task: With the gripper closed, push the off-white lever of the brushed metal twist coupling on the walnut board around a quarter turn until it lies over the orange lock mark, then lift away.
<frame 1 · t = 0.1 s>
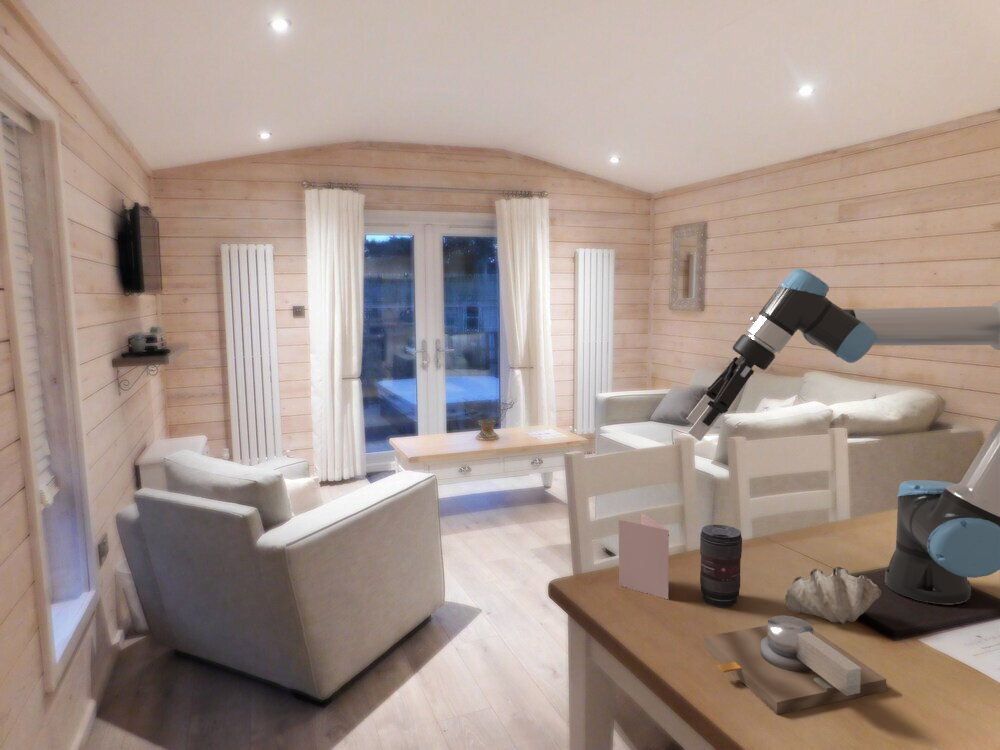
hand: (692, 429, 133), 36 cm above the table, tool tilted 35°, fingers open, 13 cm apart
greeting card: (642, 591, 142), on the table
mount: (789, 667, 112), on the table
seashell: (831, 618, 128), on the table
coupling: (811, 651, 106), point 6 cm above the table, hinge at 0.0°
camera lens: (720, 600, 137), on the table
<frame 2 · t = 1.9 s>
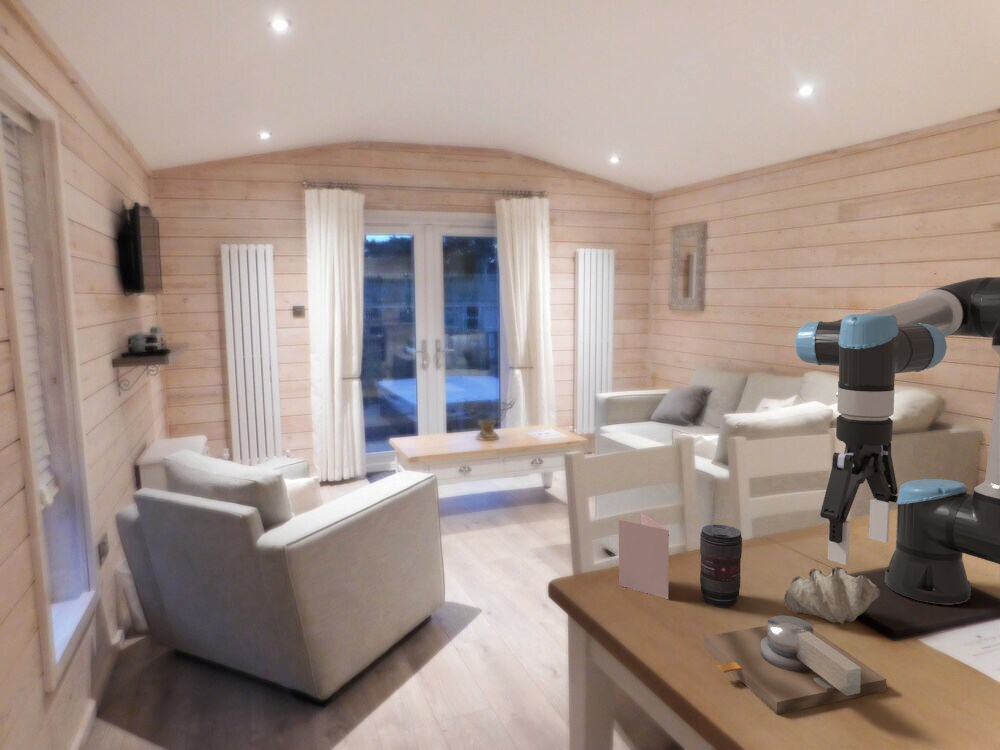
hand: (858, 550, 104), 23 cm above the table, tool pointing down, fingers open, 12 cm apart
nothing on the table moved.
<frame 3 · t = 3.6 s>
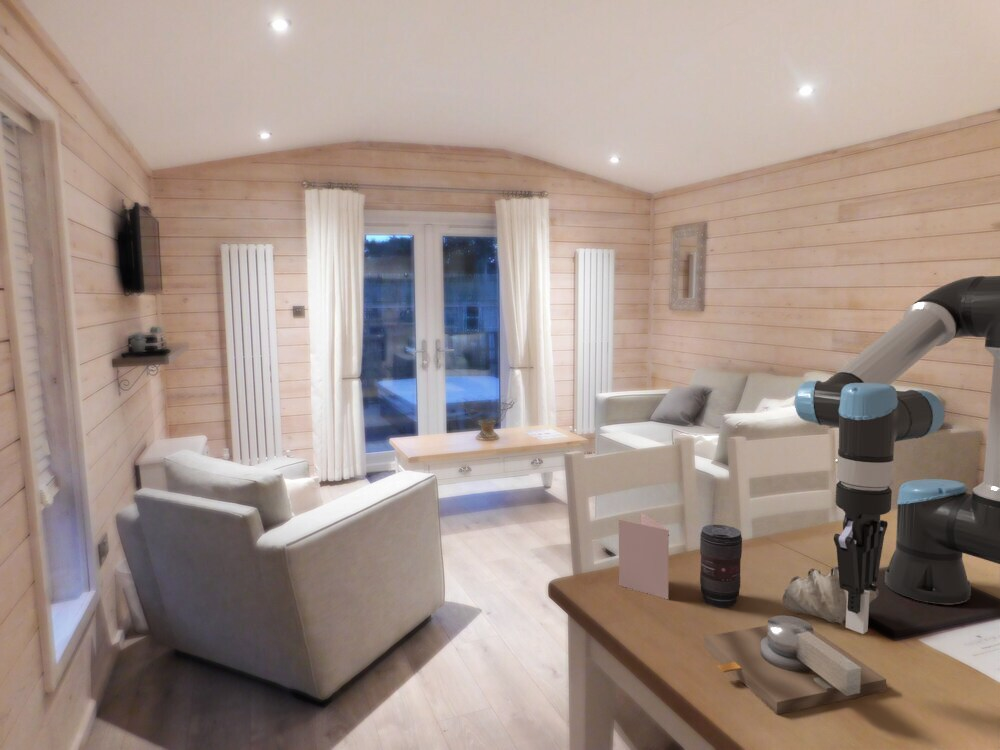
hand: (856, 628, 105), 10 cm above the table, tool pointing down, fingers closed
nothing on the table moved.
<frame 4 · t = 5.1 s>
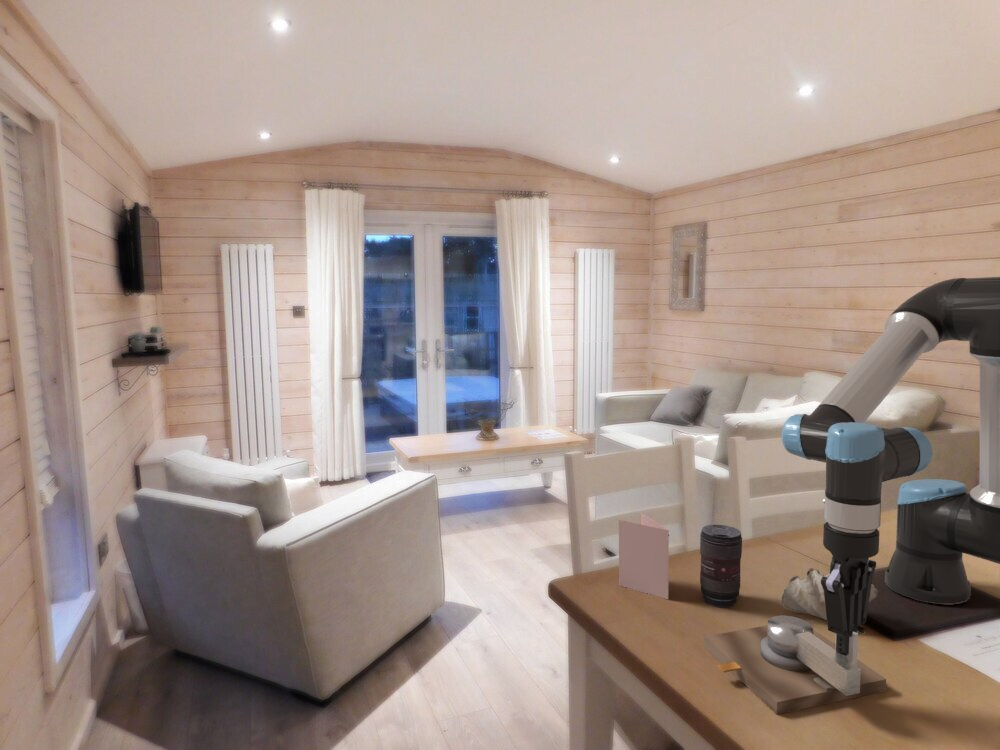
hand: (845, 670, 103), 4 cm above the table, tool pointing down, fingers closed
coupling: (811, 651, 106), point 6 cm above the table, hinge at 0.2°, touching gripper
everything else where it was.
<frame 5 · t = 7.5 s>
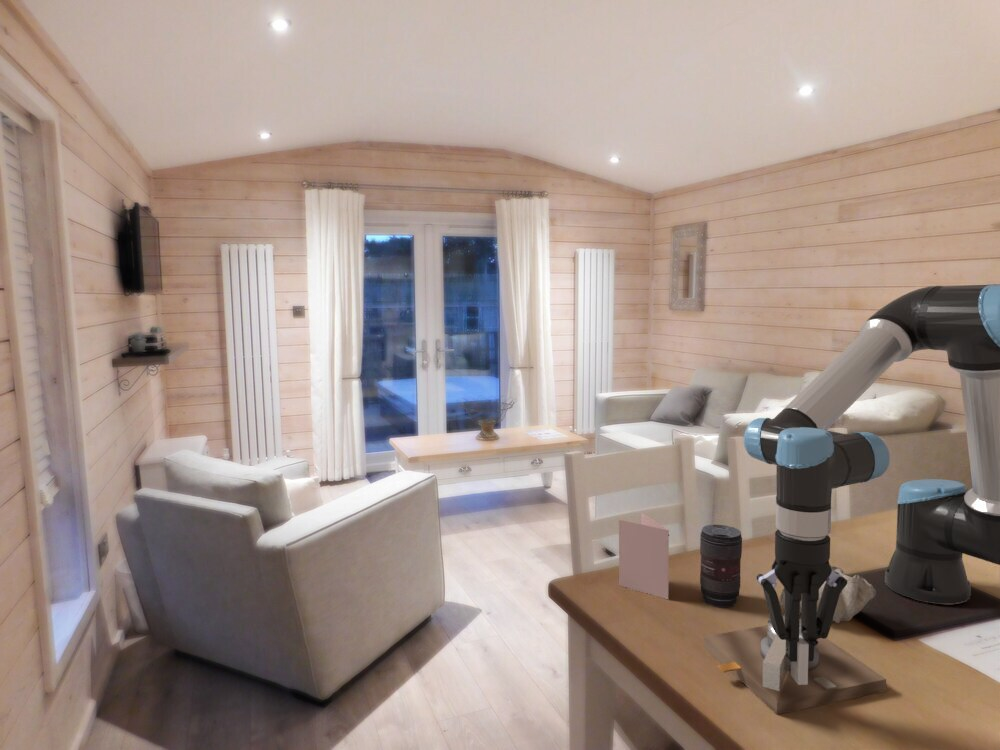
hand: (799, 679, 102), 4 cm above the table, tool pointing down, fingers closed
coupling: (783, 649, 107), point 6 cm above the table, hinge at 48.8°, touching gripper
everything else where it was.
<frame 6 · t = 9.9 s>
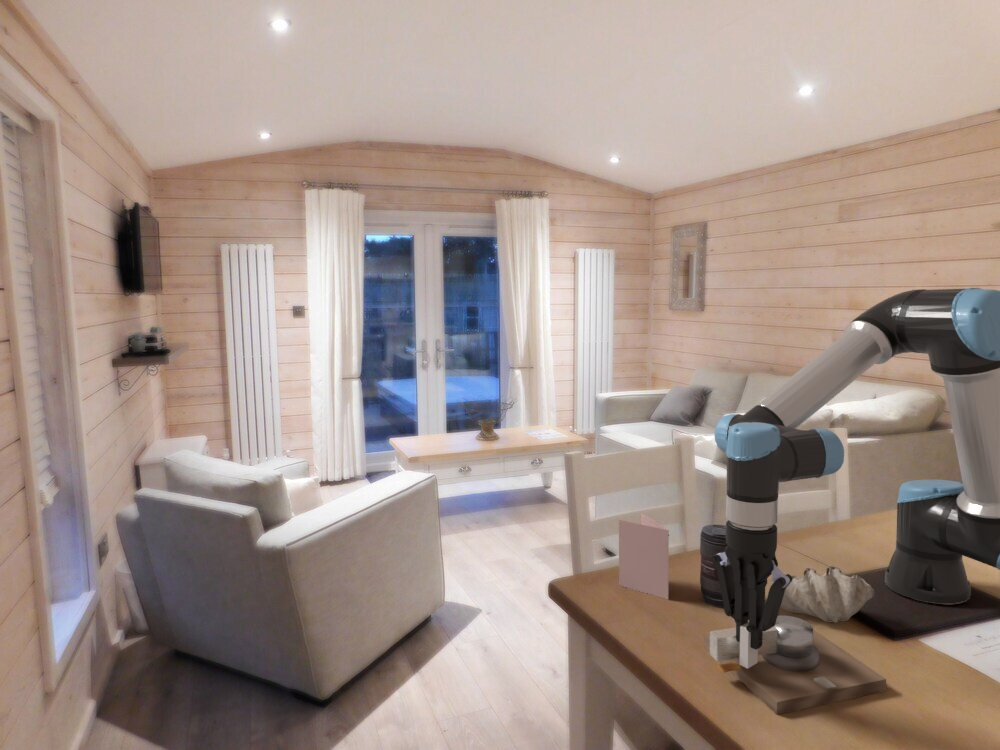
hand: (748, 663, 106), 4 cm above the table, tool pointing down, fingers closed
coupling: (761, 639, 110), point 6 cm above the table, hinge at 93.1°
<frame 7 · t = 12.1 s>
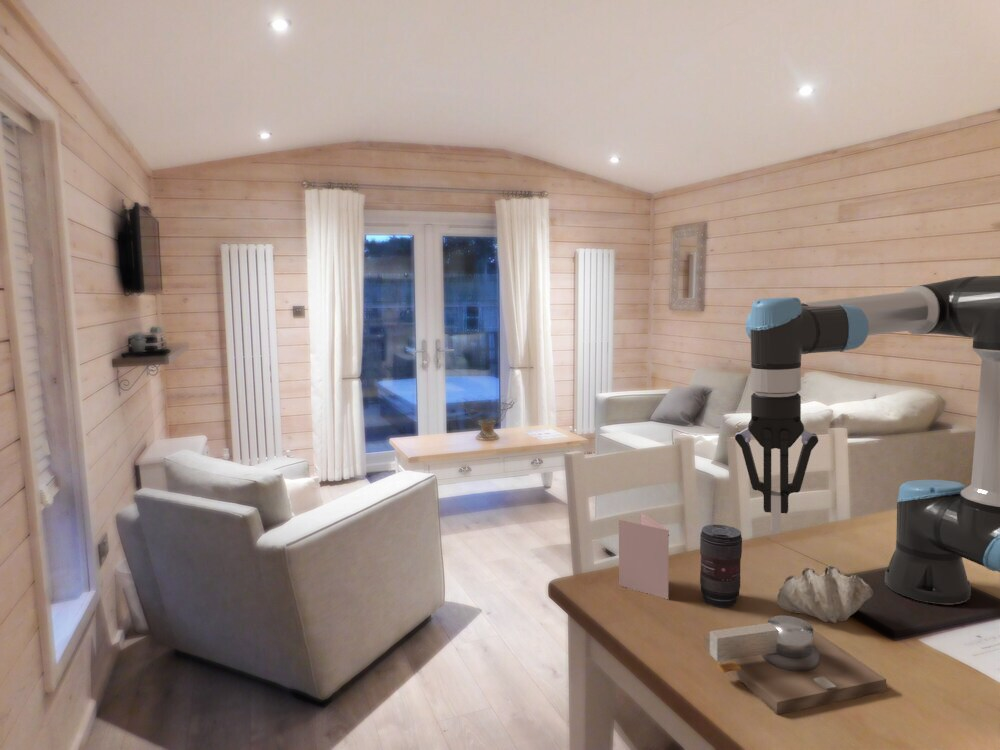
hand: (775, 530, 112), 23 cm above the table, tool pointing down, fingers closed
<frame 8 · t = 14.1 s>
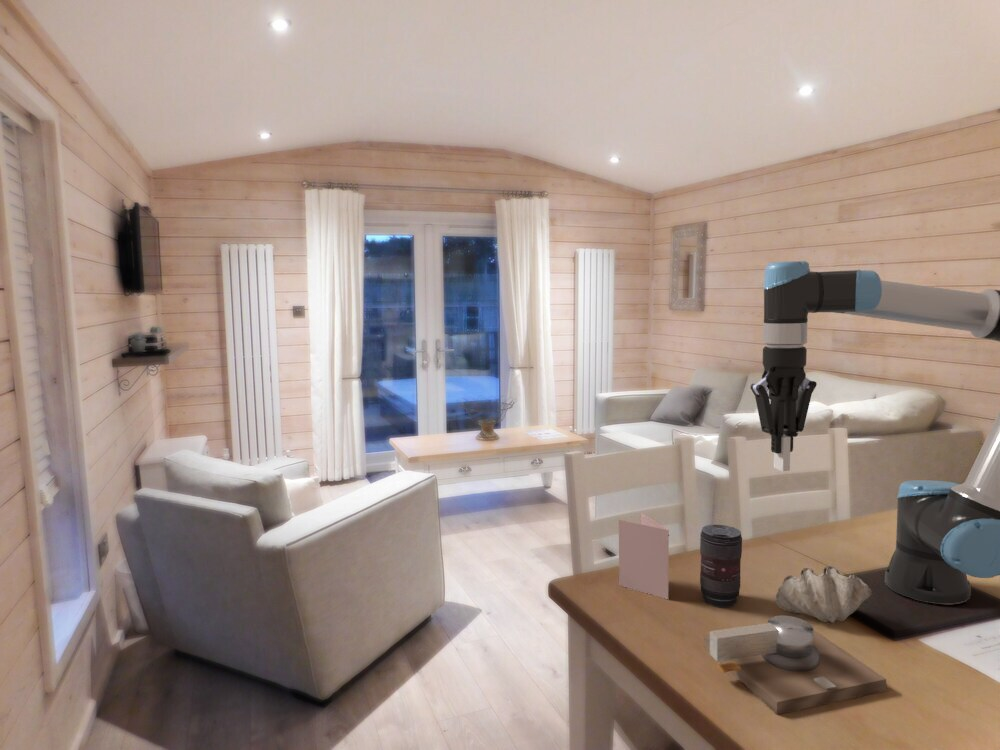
hand: (781, 468, 126), 29 cm above the table, tool pointing down, fingers closed
at the end: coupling at +93° (first picture: +0°); the gripper is holding nothing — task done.
